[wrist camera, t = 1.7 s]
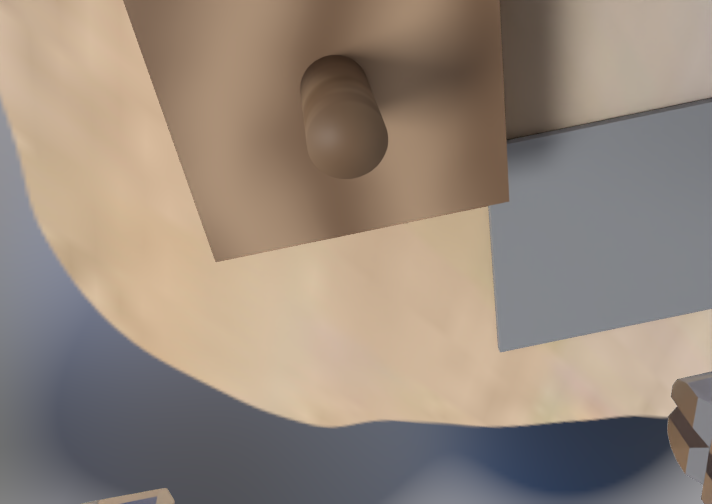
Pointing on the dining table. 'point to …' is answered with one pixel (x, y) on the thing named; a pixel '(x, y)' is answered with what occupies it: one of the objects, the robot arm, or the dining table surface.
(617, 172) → the mat
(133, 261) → the dining table surface
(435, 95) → the lid
